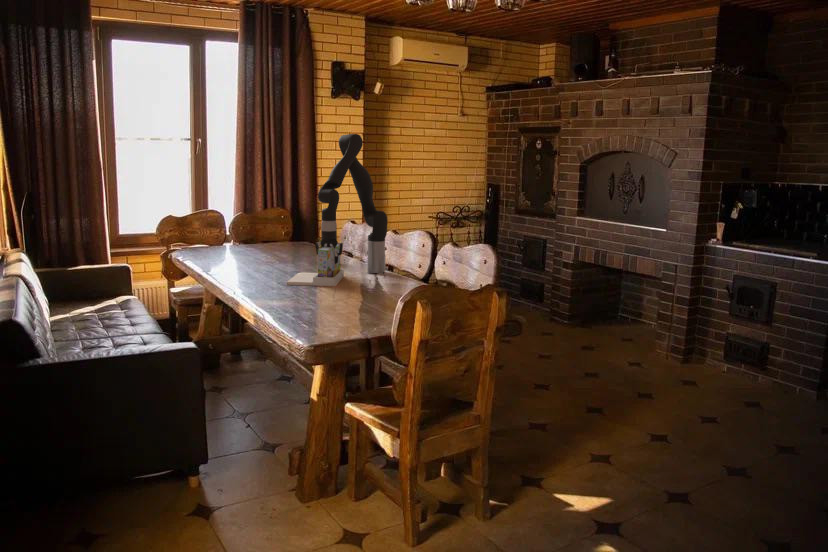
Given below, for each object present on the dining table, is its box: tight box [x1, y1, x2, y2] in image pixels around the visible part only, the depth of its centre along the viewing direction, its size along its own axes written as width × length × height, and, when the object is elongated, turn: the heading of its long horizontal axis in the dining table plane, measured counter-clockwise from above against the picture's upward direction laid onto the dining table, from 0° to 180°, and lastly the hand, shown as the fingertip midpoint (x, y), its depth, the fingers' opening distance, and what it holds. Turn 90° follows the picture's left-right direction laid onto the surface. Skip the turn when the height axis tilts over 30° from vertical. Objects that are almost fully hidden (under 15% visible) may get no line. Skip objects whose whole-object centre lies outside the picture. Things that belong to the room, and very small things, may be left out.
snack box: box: [317, 245, 341, 278], centre depth 345 cm, size 21×6×15 cm, turn 169°
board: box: [286, 271, 318, 286], centre depth 347 cm, size 12×26×2 cm, turn 176°
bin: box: [312, 268, 345, 287], centre depth 346 cm, size 11×26×4 cm, turn 176°
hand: (329, 263), depth 345 cm, fingers closed on snack box, 6 cm apart
